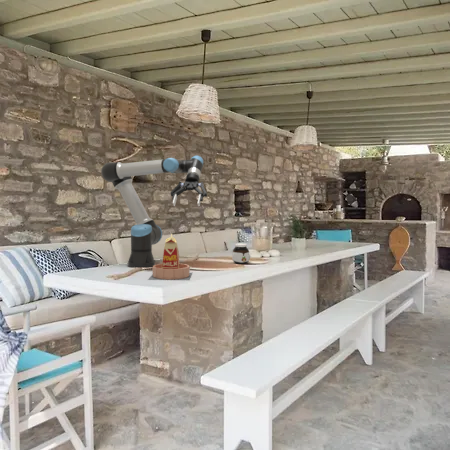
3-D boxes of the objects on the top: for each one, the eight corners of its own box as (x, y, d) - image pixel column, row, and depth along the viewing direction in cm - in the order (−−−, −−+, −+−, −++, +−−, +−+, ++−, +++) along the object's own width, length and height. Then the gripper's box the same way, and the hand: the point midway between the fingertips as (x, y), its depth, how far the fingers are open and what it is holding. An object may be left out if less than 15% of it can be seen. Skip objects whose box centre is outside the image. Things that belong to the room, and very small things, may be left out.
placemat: (147, 280, 210) (147, 279, 210) (154, 272, 230) (154, 272, 230) (189, 281, 210) (189, 280, 210) (192, 273, 230) (192, 272, 230)
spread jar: (233, 264, 262) (233, 244, 261) (230, 261, 273) (230, 242, 272) (253, 264, 263) (253, 244, 263) (249, 261, 275) (249, 242, 274)
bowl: (150, 279, 211) (150, 269, 211) (156, 272, 229) (156, 263, 229) (187, 279, 211) (187, 269, 211) (190, 273, 229) (190, 263, 229)
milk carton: (162, 272, 225) (163, 233, 223) (181, 272, 225) (181, 233, 224) (160, 275, 216) (160, 235, 214) (179, 275, 216) (179, 235, 214)
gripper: (215, 182, 250) (209, 209, 236) (173, 182, 254) (165, 209, 240) (213, 172, 244) (207, 200, 230) (170, 172, 248) (162, 199, 235)
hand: (186, 204), depth 235 cm, fingers open, 13 cm apart
